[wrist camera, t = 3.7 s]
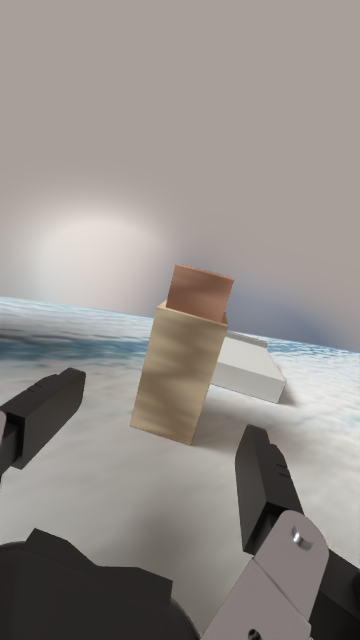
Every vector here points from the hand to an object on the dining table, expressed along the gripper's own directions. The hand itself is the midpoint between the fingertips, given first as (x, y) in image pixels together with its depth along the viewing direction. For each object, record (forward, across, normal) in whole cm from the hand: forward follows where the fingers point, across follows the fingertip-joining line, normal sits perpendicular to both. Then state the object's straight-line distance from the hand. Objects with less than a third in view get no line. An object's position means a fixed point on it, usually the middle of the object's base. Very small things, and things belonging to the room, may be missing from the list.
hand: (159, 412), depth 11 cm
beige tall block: (+8, 0, +6) cm, 11 cm away
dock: (+22, -5, +6) cm, 24 cm away
